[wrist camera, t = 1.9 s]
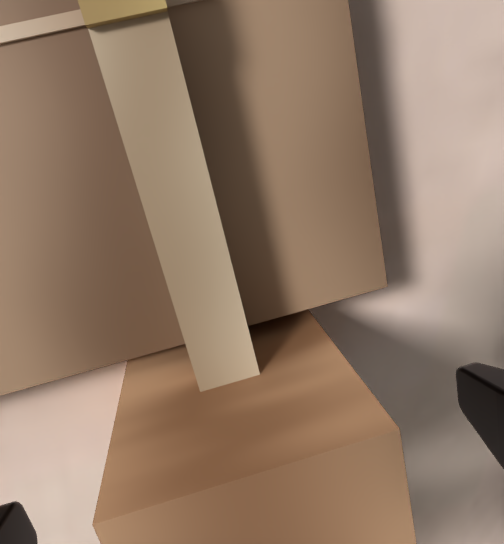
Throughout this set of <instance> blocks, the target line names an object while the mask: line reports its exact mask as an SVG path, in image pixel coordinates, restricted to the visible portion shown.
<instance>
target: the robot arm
mask: <svg viewBox="0 0 504 544" xmlns="http://www.w3.org/2000/svg"><path fill="white" fill-rule="evenodd" d="M456 381H457V392H458V402H459V405H460V408H461V410H462V412H463V413H464V415H465V416H466V417H467V419H468V420H469V422H470V423H471V424H472V426H473V427H474V429H475V430H476V431H477V433H478V434H479V436H480V437H481V438H482V440H483V441H484V443H485V444H486V445H487V447H488V448H489V450H490V451H491V452H492V454H493V455H494V457H495V458H496V459H497V461H498V462H499V464H500V465H501V466H502V468H503V469H504V369H500V368H496V367H492V366H489V365H485V364H481V363H471V364H468V365H464V366H461V367H459V368H458V369H457V371H456ZM0 544H37V535H36V532H35V529H34V527H33V525H32V523H31V521H30V519H29V517H28V516H27V514H26V512H25V510H24V508H23V506H22V505H21V504H20V503H19V502H16V501H14V502H11V503H7V504H4V505H1V506H0Z"/></svg>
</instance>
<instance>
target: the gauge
mask: <svg viewBox="0 0 504 544" xmlns="http://www.w3.org/2000/svg"><path fill="white" fill-rule="evenodd" d="M78 3H79V6H80V9H81V13H82V16H83V19H84V22H85V25H86V27H87V28H88V30H89V33H90V37H91V40H92V43H93V46H94V50H95V53H96V56H97V59H98V63H99V66H100V69H101V72H102V76H103V79H104V82H105V85H106V88H107V92H108V95H109V98H110V101H111V105H112V108H113V111H114V114H115V118H116V121H117V124H118V127H119V131H120V134H121V137H122V140H123V144H124V147H125V150H126V153H127V156H128V160H129V163H130V166H131V169H132V173H133V176H134V179H135V182H136V186H137V189H138V192H139V195H140V199H141V202H142V205H143V208H144V212H145V215H146V218H147V221H148V225H149V228H150V231H151V234H152V237H153V241H154V244H155V247H156V250H157V254H158V257H159V260H160V263H161V267H162V270H163V273H164V276H165V280H166V283H167V286H168V289H169V293H170V296H171V299H172V302H173V305H174V309H175V312H176V315H177V318H178V322H179V325H180V328H181V331H182V335H183V338H184V341H185V344H183V345H179V346H175V347H172V348H168V349H165V350H161V351H158V352H154V353H151V354H147V355H143V356H140V357H136V358H133V359H129V360H128V361H127V366H126V371H125V375H124V380H123V385H122V389H121V394H120V399H119V403H118V408H117V413H116V417H115V422H114V427H113V431H112V436H111V441H110V445H109V450H108V455H107V459H106V464H105V469H104V473H103V478H102V482H101V487H100V492H99V496H98V501H97V506H96V510H95V515H94V520H93V524H92V525H93V527H94V529H95V532H96V534H97V536H98V538H99V541H100V543H101V544H416V538H415V531H414V524H413V517H412V510H411V503H410V496H409V489H408V483H407V476H406V469H405V462H404V455H403V448H402V441H401V434H400V429H399V427H398V426H397V425H396V424H395V422H394V421H393V420H392V418H391V417H390V416H389V414H388V413H387V412H386V410H385V409H384V408H383V407H382V405H381V404H380V403H379V401H378V400H377V399H376V397H375V396H374V395H373V394H372V392H371V391H370V390H369V388H368V387H367V386H366V384H365V383H364V382H363V381H362V379H361V378H360V377H359V375H358V374H357V373H356V371H355V370H354V369H353V368H352V366H351V365H350V364H349V362H348V361H347V360H346V358H345V357H344V356H343V354H342V353H341V352H340V351H339V349H338V348H337V347H336V345H335V344H334V343H333V341H332V340H331V339H330V338H329V336H328V335H327V334H326V332H325V331H324V330H323V328H322V327H321V326H320V325H319V323H318V322H317V321H316V319H315V318H314V317H313V315H312V314H311V313H310V312H309V310H308V309H307V310H303V311H300V312H296V313H293V314H289V315H286V316H282V317H279V318H275V319H271V320H268V321H264V322H261V323H257V324H254V325H250V326H248V325H247V321H246V318H245V314H244V310H243V306H242V302H241V298H240V294H239V290H238V286H237V282H236V278H235V274H234V270H233V266H232V263H231V259H230V255H229V251H228V247H227V243H226V239H225V235H224V231H223V227H222V223H221V219H220V215H219V211H218V208H217V204H216V200H215V196H214V192H213V188H212V184H211V180H210V176H209V172H208V168H207V164H206V160H205V156H204V153H203V149H202V145H201V141H200V137H199V133H198V129H197V125H196V121H195V117H194V113H193V109H192V105H191V101H190V98H189V94H188V90H187V86H186V82H185V78H184V74H183V70H182V66H181V62H180V58H179V54H178V50H177V46H176V43H175V39H174V35H173V31H172V27H171V23H170V19H169V15H168V11H167V4H166V1H165V0H78Z"/></svg>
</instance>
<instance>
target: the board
mask: <svg viewBox="0 0 504 544" xmlns="http://www.w3.org/2000/svg"><path fill="white" fill-rule="evenodd" d="M165 1H166V4H167V11H168V15H169V19H170V23H171V27H172V31H173V35H174V39H175V43H176V46H177V50H178V54H179V58H180V62H181V66H182V70H183V74H184V78H185V82H186V86H187V90H188V94H189V98H190V101H191V105H192V109H193V113H194V117H195V121H196V125H197V129H198V133H199V137H200V141H201V145H202V149H203V153H204V156H205V160H206V164H207V168H208V172H209V176H210V180H211V184H212V188H213V192H214V196H215V200H216V204H217V208H218V211H219V215H220V219H221V223H222V227H223V231H224V235H225V239H226V243H227V247H228V251H229V255H230V259H231V263H232V266H233V270H234V274H235V278H236V282H237V286H238V290H239V294H240V298H241V302H242V306H243V310H244V314H245V318H246V321H247V325H248V326H250V325H254V324H257V323H261V322H264V321H268V320H271V319H275V318H279V317H282V316H286V315H289V314H293V313H296V312H300V311H303V310H307V309H311V308H314V307H318V306H321V305H325V304H328V303H332V302H335V301H339V300H342V299H346V298H350V297H353V296H357V295H360V294H364V293H367V292H371V291H374V290H378V289H382V288H385V287H388V286H387V279H386V271H385V264H384V257H383V250H382V242H381V235H380V228H379V220H378V213H377V206H376V199H375V191H374V184H373V177H372V170H371V162H370V155H369V148H368V140H367V133H366V126H365V119H364V111H363V104H362V97H361V90H360V82H359V75H358V68H357V61H356V53H355V46H354V39H353V31H352V24H351V17H350V10H349V2H348V0H165ZM183 344H185V341H184V338H183V335H182V331H181V328H180V325H179V322H178V318H177V315H176V312H175V309H174V305H173V302H172V299H171V296H170V293H169V289H168V286H167V283H166V280H165V276H164V273H163V270H162V267H161V263H160V260H159V257H158V254H157V250H156V247H155V244H154V241H153V237H152V234H151V231H150V228H149V225H148V221H147V218H146V215H145V212H144V208H143V205H142V202H141V199H140V195H139V192H138V189H137V186H136V182H135V179H134V176H133V173H132V169H131V166H130V163H129V160H128V156H127V153H126V150H125V147H124V144H123V140H122V137H121V134H120V131H119V127H118V124H117V121H116V118H115V114H114V111H113V108H112V105H111V101H110V98H109V95H108V92H107V88H106V85H105V82H104V79H103V76H102V72H101V69H100V66H99V63H98V59H97V56H96V53H95V50H94V46H93V43H92V40H91V37H90V33H89V30H88V28H87V27H86V25H85V22H84V19H83V16H82V13H81V9H80V6H79V3H78V0H0V396H1V395H5V394H8V393H12V392H16V391H19V390H23V389H26V388H30V387H33V386H37V385H40V384H44V383H48V382H51V381H55V380H58V379H62V378H65V377H69V376H72V375H76V374H80V373H83V372H87V371H90V370H94V369H97V368H101V367H104V366H108V365H112V364H115V363H119V362H122V361H126V360H129V359H133V358H136V357H140V356H143V355H147V354H151V353H154V352H158V351H161V350H165V349H168V348H172V347H175V346H179V345H183Z"/></svg>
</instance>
